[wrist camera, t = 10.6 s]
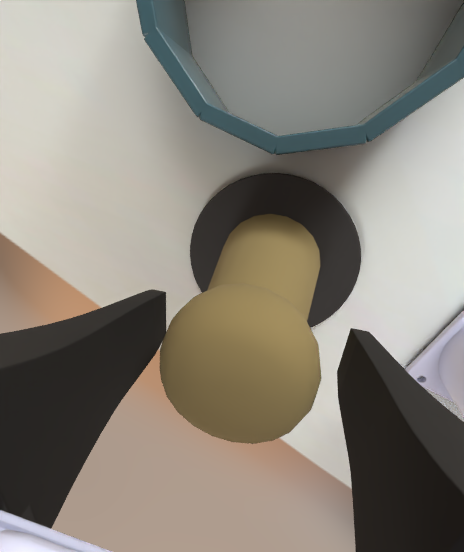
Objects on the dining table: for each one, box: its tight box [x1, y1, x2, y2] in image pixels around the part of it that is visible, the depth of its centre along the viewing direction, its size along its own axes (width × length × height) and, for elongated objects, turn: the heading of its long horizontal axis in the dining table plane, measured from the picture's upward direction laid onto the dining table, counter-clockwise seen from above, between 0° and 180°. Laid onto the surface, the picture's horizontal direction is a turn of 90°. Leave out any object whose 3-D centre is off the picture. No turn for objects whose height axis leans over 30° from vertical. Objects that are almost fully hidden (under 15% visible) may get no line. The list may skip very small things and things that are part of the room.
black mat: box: [190, 173, 361, 327], centre depth 18 cm, size 10×10×1 cm
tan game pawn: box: [160, 214, 321, 444], centre depth 13 cm, size 6×6×11 cm
